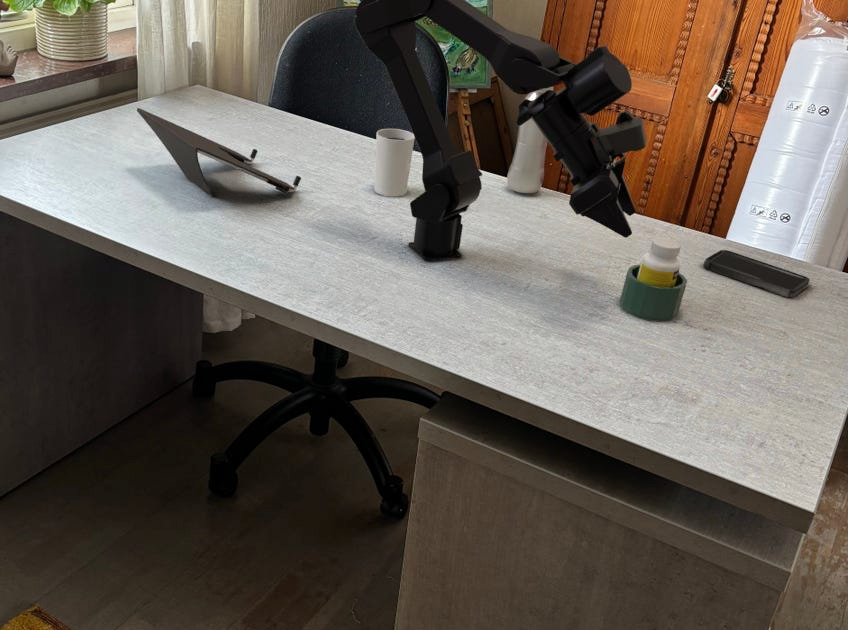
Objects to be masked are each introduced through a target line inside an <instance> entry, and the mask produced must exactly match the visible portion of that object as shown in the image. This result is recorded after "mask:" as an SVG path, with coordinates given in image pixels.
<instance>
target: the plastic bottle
mask: <svg viewBox="0 0 848 630" xmlns="http://www.w3.org/2000/svg"><path fill="white" fill-rule="evenodd" d="M547 90H553V91H554V86H553V87H550V88H547V89H546V88H544V89H541V90H538V91H535V92H531V93H528V94H527V96H525V98H524V99H527V100H534V99H536V98H537V97H539V96H540V95H541V94H543V93H544V92H546V91H547ZM517 129H518V130H517V139H516V145H515V149H514V153H513V157H512V159H511V163H510V166H509V169H508V172H507V176H506V183H507V186H508V188H509V189H511V191H514V192H517V193H524V194H534V193H537V192H538V191H539V190H540V189H541V188H542V186H543V184H544V180H545V161H546V153H547V152H546V151H547V146H548V141H547V140H546V138H545V137H544V135H543V134H542V132H541V131H540V130H539V128H538V127H537V125H536V124H535V122H534V121H533V119H532V118H531V119H529V120H528V121H527V122H525V123H524V124H522V125H521V126H518V128H517Z"/></svg>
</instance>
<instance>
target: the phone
mask: <svg viewBox="0 0 848 630" xmlns="http://www.w3.org/2000/svg"><path fill="white" fill-rule="evenodd" d="M703 263H704V264H703V268H704V269H707V270H709V271H712V272H714V273H718V274H720V275H723V276H725V277H729V278H732V279H734V280H738V281H740V282H743V283H745V284H748V285H751V286H754V287H756V288H759V289H762V290H765V291H769V292H771V293H774V294H777V295H779V296H783V297H786V298H794V297H796V296H797V295H799V294H800V293H801V292H803V291H804V290H805V289H807V288H808V286H809V283H810V280H811V279H810V278H809V277H807V276H805V275H801V274H799V273H796V272H794V271H790V270H787V269H784V268H781V267H779V266H777V265H776V266H775V265H774V264H770V263H767V262H764V261H761V260H758V259H755V258H752V257H749V256H746V255H743V254H739V253H737V252H734V251H731V250H727V249H720V250H718V251H717V252H715V253H713V254H712V255H709V256H708V257H706V258H705V259H704V262H703Z"/></svg>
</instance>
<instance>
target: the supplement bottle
mask: <svg viewBox="0 0 848 630" xmlns="http://www.w3.org/2000/svg"><path fill="white" fill-rule="evenodd" d="M681 248H682V244H681V243H680V242H679V241H677V240H675V239H673V238H669V237H663V236H662V237H661V236H659V237H655V238H653V239H652V240H651V244H650V248H649V250H650V251H649V252H646V253H645V254H644V255H643V256H642V258H641V262H640V264H639V265H640V269H639V273H638V276H637V279H638V280H639V281H641V282H644V283H646V284H649V285H654V286H658V287H674V286H675V283H676V279H677V276H678V273H680V270H681V269H680V268H681V261H680V259H679V258H678V256H679V254H680V251H681Z"/></svg>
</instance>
